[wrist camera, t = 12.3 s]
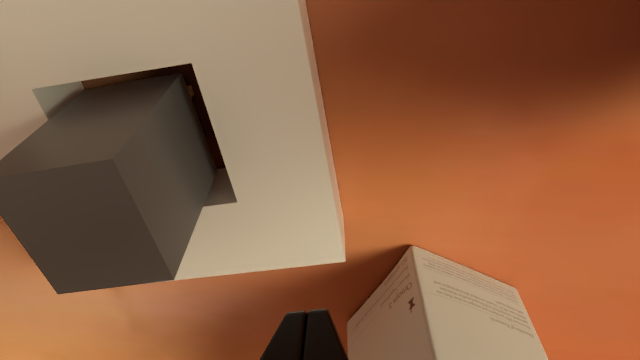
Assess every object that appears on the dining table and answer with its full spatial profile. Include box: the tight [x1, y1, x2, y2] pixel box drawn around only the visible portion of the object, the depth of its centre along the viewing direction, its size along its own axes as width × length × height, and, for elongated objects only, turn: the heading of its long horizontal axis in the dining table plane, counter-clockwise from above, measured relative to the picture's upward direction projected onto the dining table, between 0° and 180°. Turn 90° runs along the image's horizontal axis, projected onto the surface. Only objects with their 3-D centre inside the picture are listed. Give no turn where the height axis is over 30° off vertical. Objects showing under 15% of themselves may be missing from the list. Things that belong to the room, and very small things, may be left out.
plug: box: [0, 72, 217, 294], centre depth 16 cm, size 4×4×8 cm
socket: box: [0, 0, 346, 285], centre depth 18 cm, size 14×14×4 cm
